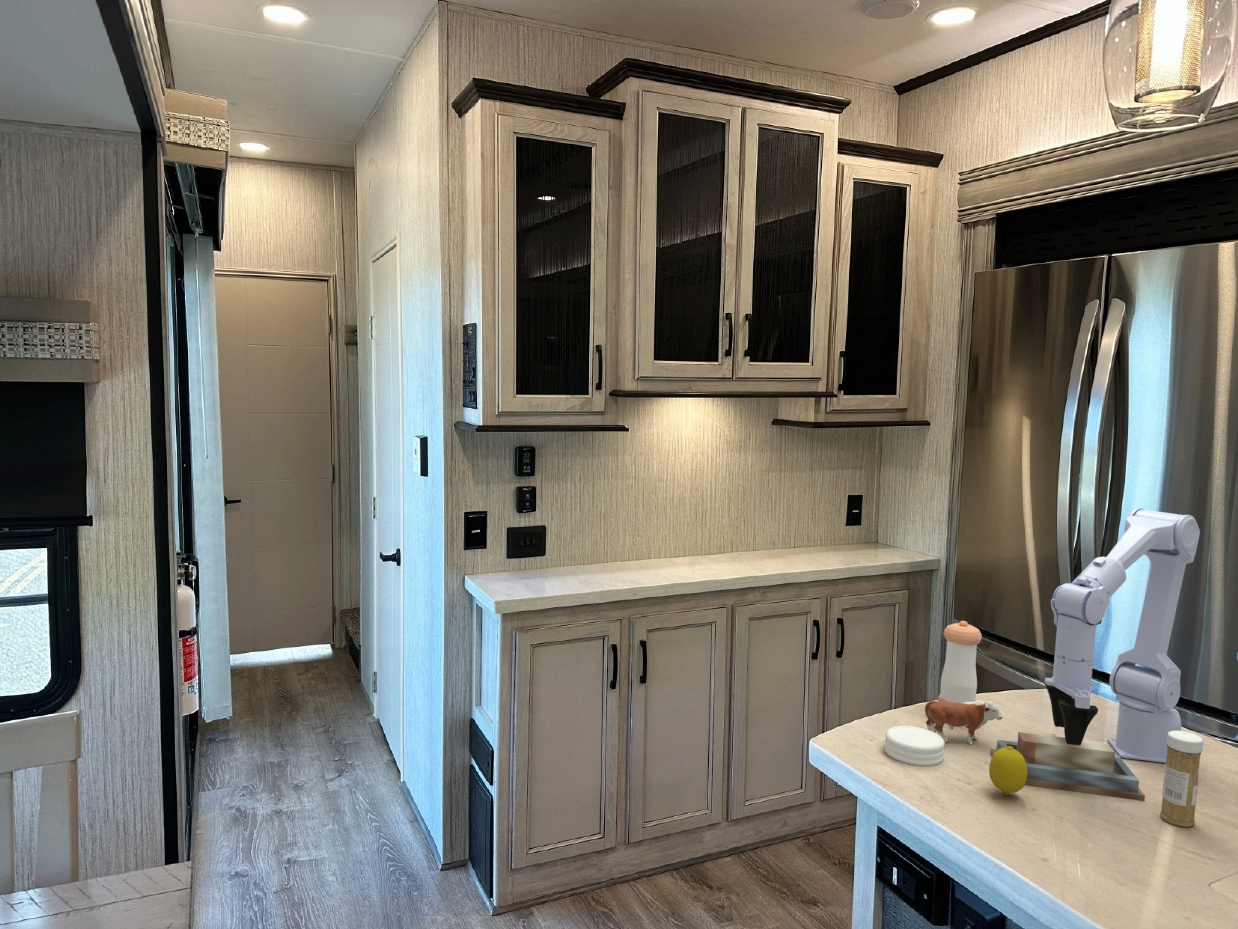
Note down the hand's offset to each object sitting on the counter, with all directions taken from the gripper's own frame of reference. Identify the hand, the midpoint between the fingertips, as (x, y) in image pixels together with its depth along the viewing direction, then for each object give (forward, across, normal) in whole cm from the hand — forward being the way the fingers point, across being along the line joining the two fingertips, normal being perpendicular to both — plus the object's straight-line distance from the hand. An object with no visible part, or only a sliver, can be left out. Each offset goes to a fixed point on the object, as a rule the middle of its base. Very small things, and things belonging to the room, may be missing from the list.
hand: (1067, 735), depth 147 cm
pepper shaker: (+7, -23, -14) cm, 28 cm away
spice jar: (+7, +12, +13) cm, 19 cm away
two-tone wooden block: (+6, 0, 0) cm, 6 cm away
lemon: (+7, +11, -11) cm, 17 cm away
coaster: (+7, -1, -24) cm, 25 cm away
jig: (+7, 0, 0) cm, 7 cm away
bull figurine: (+7, -10, -15) cm, 19 cm away
